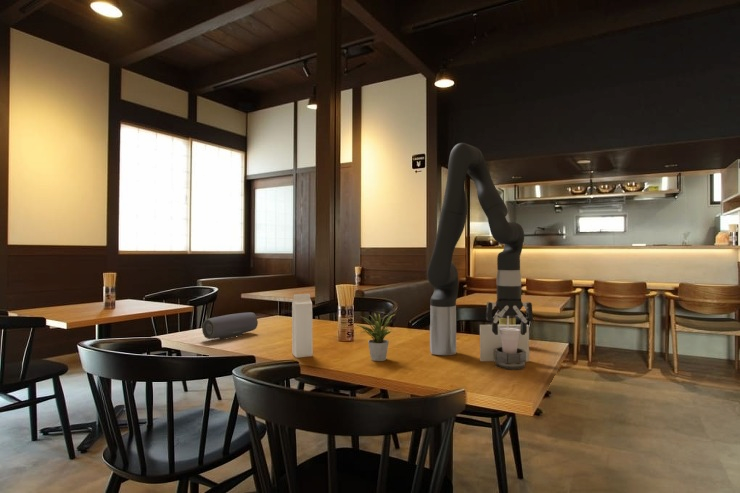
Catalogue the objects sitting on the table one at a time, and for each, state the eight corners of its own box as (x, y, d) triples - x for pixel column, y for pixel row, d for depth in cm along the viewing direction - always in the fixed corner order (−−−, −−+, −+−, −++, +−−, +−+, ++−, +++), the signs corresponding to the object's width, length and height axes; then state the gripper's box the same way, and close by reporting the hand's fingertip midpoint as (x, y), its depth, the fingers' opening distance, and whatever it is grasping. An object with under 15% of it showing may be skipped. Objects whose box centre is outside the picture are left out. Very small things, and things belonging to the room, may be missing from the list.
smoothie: (496, 357, 138) (496, 314, 139) (515, 357, 139) (515, 314, 139) (504, 362, 132) (503, 317, 132) (523, 361, 133) (523, 317, 133)
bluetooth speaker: (245, 331, 196) (245, 310, 196) (258, 333, 191) (258, 311, 191) (201, 340, 178) (201, 316, 178) (214, 343, 172) (214, 318, 173)
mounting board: (480, 361, 141) (480, 325, 142) (480, 360, 143) (479, 324, 143) (529, 361, 141) (528, 325, 141) (528, 360, 142) (527, 324, 142)
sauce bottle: (510, 342, 170) (510, 292, 170) (519, 345, 164) (519, 294, 164) (496, 343, 168) (495, 293, 169) (504, 346, 162) (504, 294, 162)
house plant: (379, 351, 156) (379, 307, 156) (408, 357, 146) (408, 310, 147) (351, 358, 146) (350, 311, 146) (379, 366, 136) (379, 315, 137)
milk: (312, 356, 150) (312, 294, 150) (295, 358, 148) (295, 295, 148) (308, 352, 156) (308, 292, 156) (291, 354, 153) (291, 293, 153)
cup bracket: (498, 369, 131) (498, 353, 131) (490, 361, 141) (490, 346, 141) (528, 370, 131) (528, 353, 131) (518, 361, 141) (518, 346, 141)
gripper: (489, 285, 132) (489, 336, 132) (535, 285, 132) (535, 336, 132) (483, 283, 140) (484, 332, 140) (527, 283, 139) (528, 332, 139)
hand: (509, 334), depth 136 cm, fingers open, 8 cm apart
